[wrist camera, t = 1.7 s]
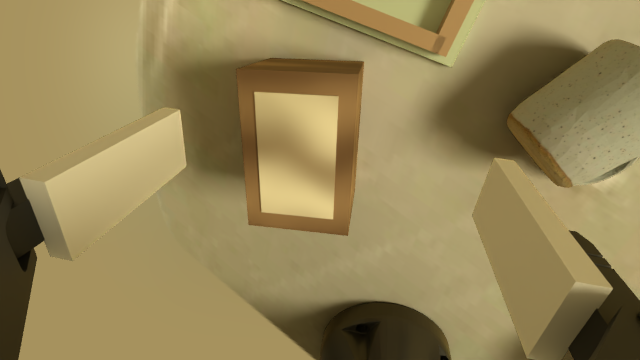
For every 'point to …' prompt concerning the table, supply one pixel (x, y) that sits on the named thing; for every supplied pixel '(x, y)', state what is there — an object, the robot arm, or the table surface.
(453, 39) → the panel
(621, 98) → the ceramic mug
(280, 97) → the wooden box
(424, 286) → the table surface
